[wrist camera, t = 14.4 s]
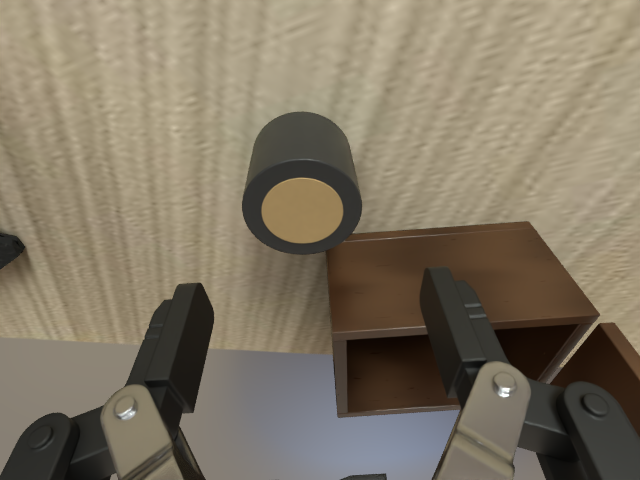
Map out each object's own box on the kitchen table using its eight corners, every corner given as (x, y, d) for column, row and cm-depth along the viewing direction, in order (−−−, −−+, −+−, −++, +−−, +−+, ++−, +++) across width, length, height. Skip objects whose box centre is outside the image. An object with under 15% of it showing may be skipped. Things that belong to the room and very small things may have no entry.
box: (330, 327, 32) (337, 418, 26) (324, 235, 24) (332, 333, 18) (486, 317, 31) (528, 405, 26) (529, 220, 24) (601, 314, 18)
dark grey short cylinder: (261, 202, 22) (253, 259, 18) (243, 115, 18) (228, 165, 15) (350, 195, 22) (361, 252, 18) (350, 107, 18) (363, 155, 14)
